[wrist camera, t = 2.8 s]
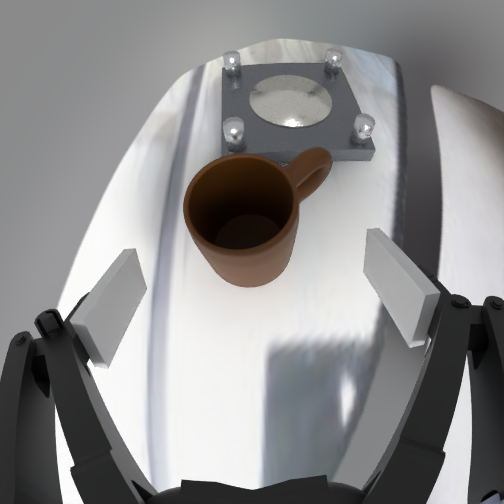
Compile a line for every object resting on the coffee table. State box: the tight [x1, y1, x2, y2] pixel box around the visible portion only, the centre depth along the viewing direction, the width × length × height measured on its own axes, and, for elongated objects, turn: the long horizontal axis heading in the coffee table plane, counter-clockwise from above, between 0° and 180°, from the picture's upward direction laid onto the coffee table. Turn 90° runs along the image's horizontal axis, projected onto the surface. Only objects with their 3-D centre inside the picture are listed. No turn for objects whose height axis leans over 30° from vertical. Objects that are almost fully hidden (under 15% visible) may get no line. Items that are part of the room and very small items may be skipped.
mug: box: [183, 146, 332, 287], centre depth 22 cm, size 12×8×9 cm, turn 127°
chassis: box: [222, 49, 375, 163], centre depth 29 cm, size 16×16×5 cm
